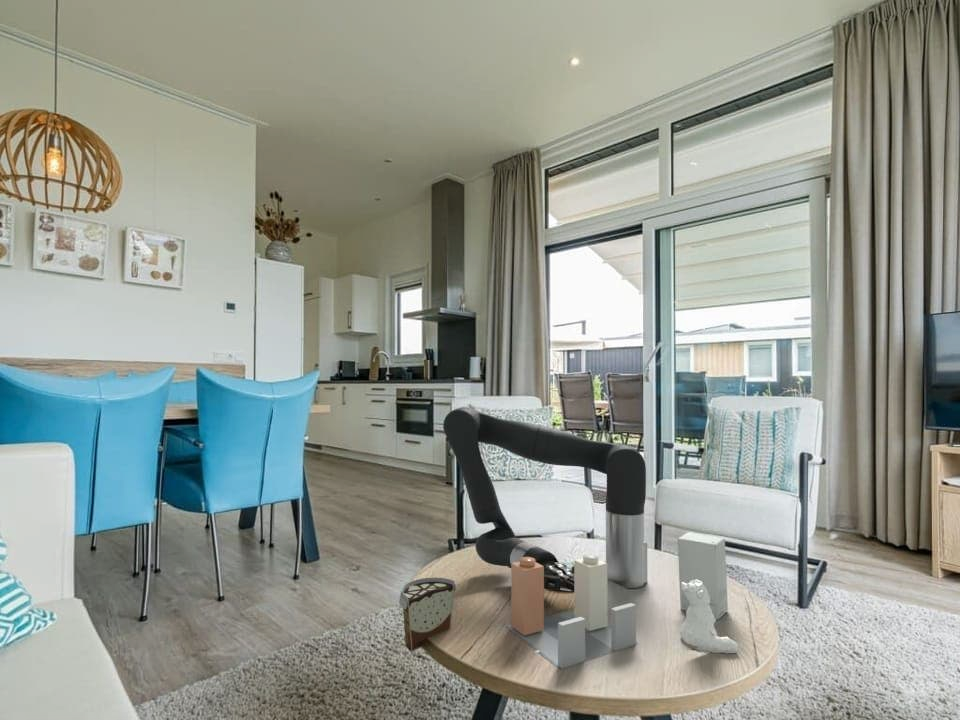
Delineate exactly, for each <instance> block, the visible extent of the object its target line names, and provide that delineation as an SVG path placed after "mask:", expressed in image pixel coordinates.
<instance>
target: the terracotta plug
mask: <svg viewBox="0 0 960 720" xmlns="http://www.w3.org/2000/svg"><path fill="white" fill-rule="evenodd" d="M510 569H511V570H510V571H511V576H510V577H511V581H510V582H511V584H510V585H511V586H510V587H511V588H510V589H511V590H510V593H511V596H510V597H511V598H510V601H511V603H510V606H511V607H510V608H511V610H510V612H511V613H510V614H511V615H510V626H512V627H513V628H515V629H516V630H517V631H519V632H520V633H521V634H523V635H524V636H525V635H528V634H532V633H535V632H539V631H543V630H544V617H545V602H544V601H545V597H544V596H545V595H544V594H545V588H544V566H542V565H540V564H538V563H536V562H535V559H534V558H532V557H522V558H520V562H514V563H511V568H510Z"/></svg>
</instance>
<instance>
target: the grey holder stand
mask: <svg viewBox="0 0 960 720" xmlns="http://www.w3.org/2000/svg"><path fill="white" fill-rule="evenodd" d="M636 606H637V605H636V604H634V603H632V602H630V603H626V604H621V605H619V606H615V607H611V609H610V621H611V622H610V626H609V625H607V626H606V627H602V628H599V629H595V630H592V631H589V630H587V629H585V619H584V618H582V617H578V618H574V608H573V609H570V610H565V611H562V612H557V613H555V614H550V615H547V616H544V630H543V631H539V632H535V633H532V634H528V635H525V636H524V635H523V634H521V633H520V632H519V631H517V630H516V629H515V628H513V627H512V626H511V625H508V626H506V627H505V628H506V629H507V630H509V631H510V632H511V633H512V634H514V635H515V636H517V637H518V638H519V639H520V640H522V642H524V643H525V644H527V645H528V646H529V647H530V648H532V649H533V650H534V651H533V652H534V653H535V654H540V655H541V656H542V657H543V658H545V660H547V661H548V662H549V663H551V664H552V665H554V666H555V667H556V668H557V669H558V670H559V671H560V670H561V671H562V670H564V669H566V668H569V667H573V666H576V665H578V664H582V663H585V662H588V661H592V660H593V659H597V658H600V657H603V656H605V655H609V654H613V653H615V652H618V651H622V650H624V649H627V648H630V647H634V646H637V645H639V643H638V642H637V607H636Z"/></svg>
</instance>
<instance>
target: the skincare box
mask: <svg viewBox="0 0 960 720" xmlns="http://www.w3.org/2000/svg"><path fill="white" fill-rule="evenodd" d="M677 552H678V555H677V556H678V557H677V558H678V581H679V603H680V604H679V605H680V610H682V611H685V612H686V611H687V610H688V607H689V606H690V605H691V603H690V602H689V600H688V599H687V596H686V595H684V591H683V590H682V588H681V583H682V582H684V583H686V584H688V583H689V582H690V581H692V580H700V581H702V582H703V586H704V587H705V588H706V589H707V591H708V595H709V596H710V603H709V605H710V608H711V610H712V614H713V616H714V618H715V619H716V621H719V620H720V619H721V618H722V617H723V615H725V614H726V613H727V612H728V610H729V605H728V583H727V561H726V559H727V557H726V539H725V537H718V536H714V535H709V534H708V535H707V534H700V533H696V532H690V531H688V532H686V533H685V534H682V536H680V537H678V538H677Z"/></svg>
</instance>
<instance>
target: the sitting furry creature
mask: <svg viewBox="0 0 960 720" xmlns="http://www.w3.org/2000/svg"><path fill="white" fill-rule="evenodd" d="M681 588H682V590H683V591H684V595H686V596H687V599H688V600H689V602H690V603H691V605H690V606H689V607H688V610H687V611H685V614H686V615H685V620H683V623H682V625H681V629H680V631H679V635H680V638H681V640H682V641H683V642H684V643H685V644H686V645H689V646H693V647H694V648H692V651H696V652H698V653H710V652H712V654H713V653H714V652H715V653H716V654H728V653H734V654H736V653H738V652H739V644H738V643H737V642H736V641H735V640H733V639H731V638H730V637H729V636H726V635H725V636H718V634H717V633H718V632H717V630H716V628H715V622H717V619H715V618H714V616H713V614H712V610H711V608H710V605H709V603H710V596H709V595H708V591H707V589H706V588H705V587H704V586H703V582H702V581H700V580H692V581H690V582H689V583H688V584H686V583H684V582H682V583H681ZM715 653H714V654H715Z"/></svg>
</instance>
